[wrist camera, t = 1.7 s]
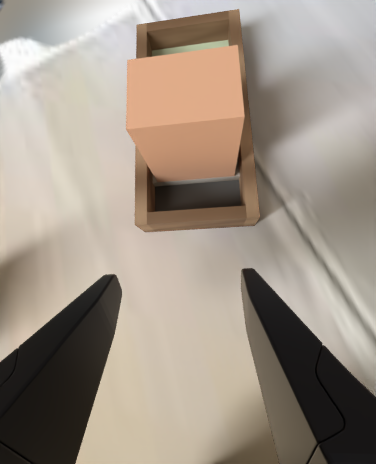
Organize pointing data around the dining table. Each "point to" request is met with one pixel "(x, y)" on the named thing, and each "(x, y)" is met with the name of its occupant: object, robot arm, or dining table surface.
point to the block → (187, 112)
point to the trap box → (197, 190)
